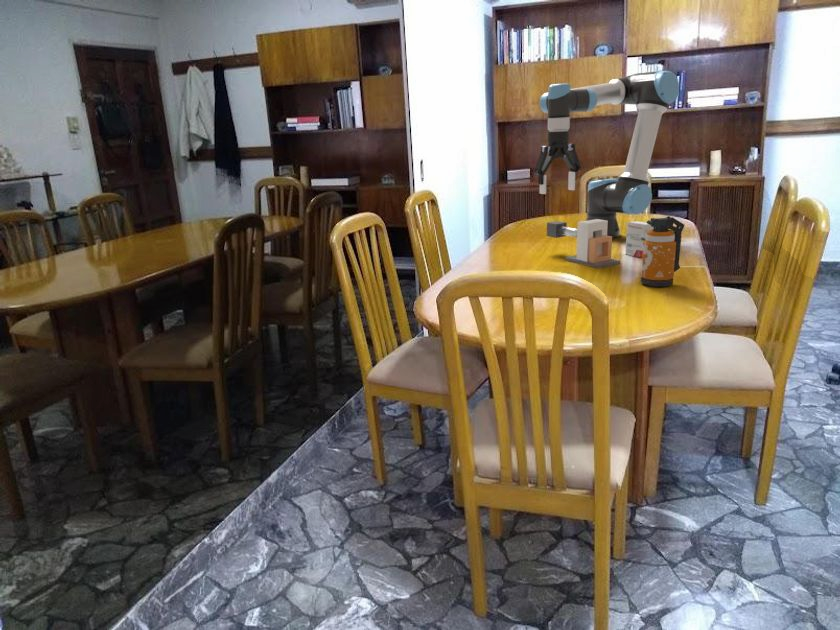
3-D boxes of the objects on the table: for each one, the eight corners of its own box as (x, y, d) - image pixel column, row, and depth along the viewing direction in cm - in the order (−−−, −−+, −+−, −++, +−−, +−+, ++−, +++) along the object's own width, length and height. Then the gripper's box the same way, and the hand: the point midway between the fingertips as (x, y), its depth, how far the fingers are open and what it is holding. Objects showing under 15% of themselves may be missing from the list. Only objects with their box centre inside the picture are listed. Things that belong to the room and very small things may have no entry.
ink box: (652, 256, 217) (655, 223, 214) (642, 258, 215) (644, 224, 212) (635, 252, 225) (637, 220, 221) (624, 254, 223) (626, 221, 219)
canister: (635, 281, 187) (639, 215, 181) (670, 279, 188) (676, 213, 182) (648, 289, 178) (653, 220, 172) (685, 286, 179) (691, 217, 173)
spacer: (588, 261, 210) (589, 238, 207) (605, 258, 214) (606, 235, 211) (593, 263, 208) (594, 239, 205) (610, 259, 211) (612, 236, 209)
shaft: (546, 236, 228) (546, 222, 227) (557, 234, 230) (557, 221, 229) (586, 244, 211) (587, 229, 210) (597, 242, 213) (598, 227, 212)
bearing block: (565, 260, 218) (566, 220, 214) (586, 255, 223) (587, 217, 219) (598, 268, 205) (600, 226, 201) (620, 263, 210) (622, 222, 205)
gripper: (577, 128, 225) (575, 187, 231) (523, 132, 213) (523, 194, 220) (592, 128, 219) (590, 189, 225) (537, 132, 207) (537, 196, 214)
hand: (557, 192), depth 222 cm, fingers open, 13 cm apart
